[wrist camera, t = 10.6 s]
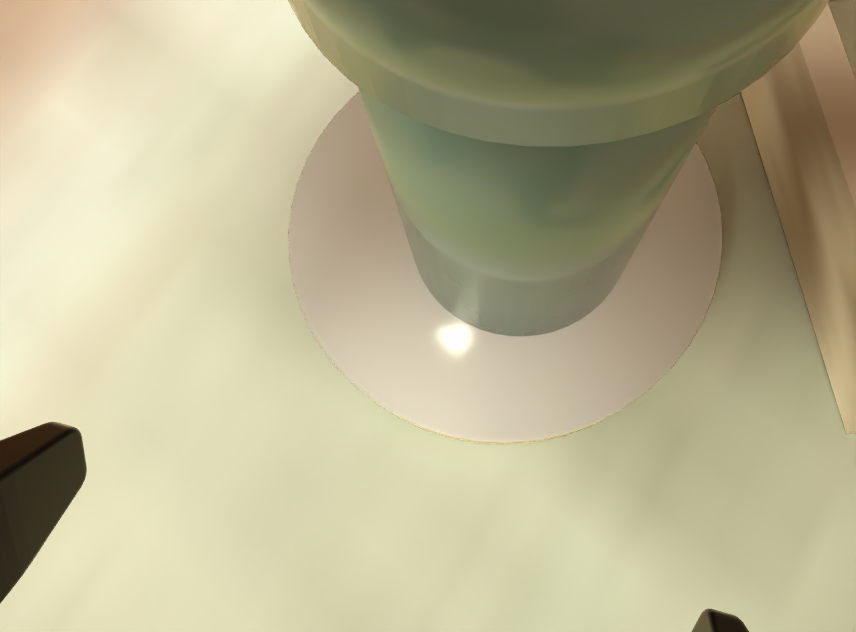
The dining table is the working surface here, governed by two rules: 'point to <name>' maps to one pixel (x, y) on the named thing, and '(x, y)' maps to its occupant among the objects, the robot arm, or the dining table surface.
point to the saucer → (469, 346)
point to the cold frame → (816, 187)
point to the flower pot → (541, 130)
